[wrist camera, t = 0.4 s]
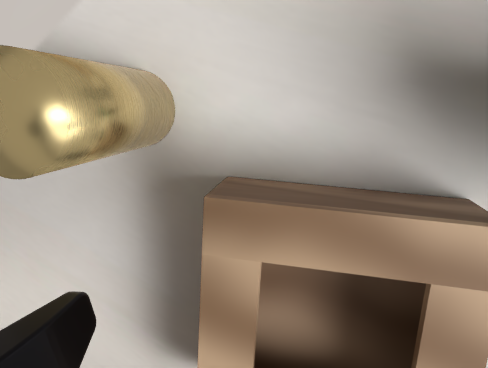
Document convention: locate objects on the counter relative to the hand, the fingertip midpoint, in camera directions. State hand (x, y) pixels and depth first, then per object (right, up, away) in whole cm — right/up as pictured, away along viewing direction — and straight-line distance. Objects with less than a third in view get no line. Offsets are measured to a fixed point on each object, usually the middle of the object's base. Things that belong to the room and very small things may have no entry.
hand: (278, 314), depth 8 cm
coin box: (+4, -4, +14) cm, 16 cm away
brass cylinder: (-7, +7, +14) cm, 17 cm away
